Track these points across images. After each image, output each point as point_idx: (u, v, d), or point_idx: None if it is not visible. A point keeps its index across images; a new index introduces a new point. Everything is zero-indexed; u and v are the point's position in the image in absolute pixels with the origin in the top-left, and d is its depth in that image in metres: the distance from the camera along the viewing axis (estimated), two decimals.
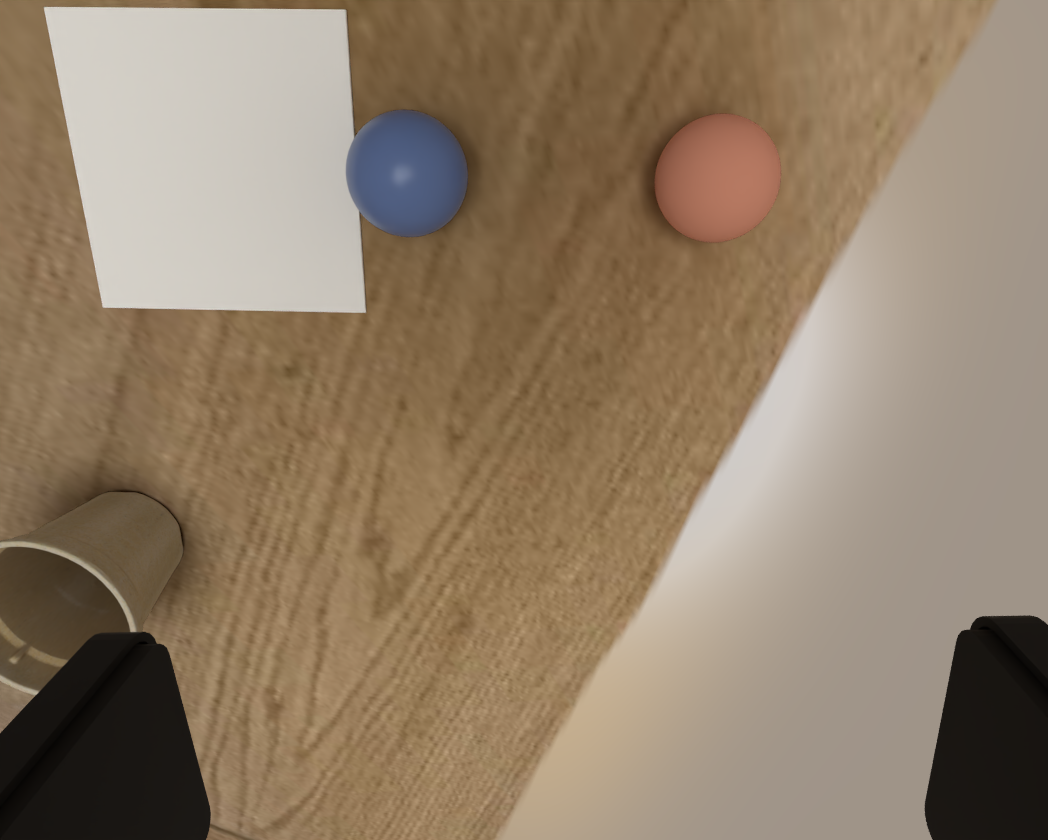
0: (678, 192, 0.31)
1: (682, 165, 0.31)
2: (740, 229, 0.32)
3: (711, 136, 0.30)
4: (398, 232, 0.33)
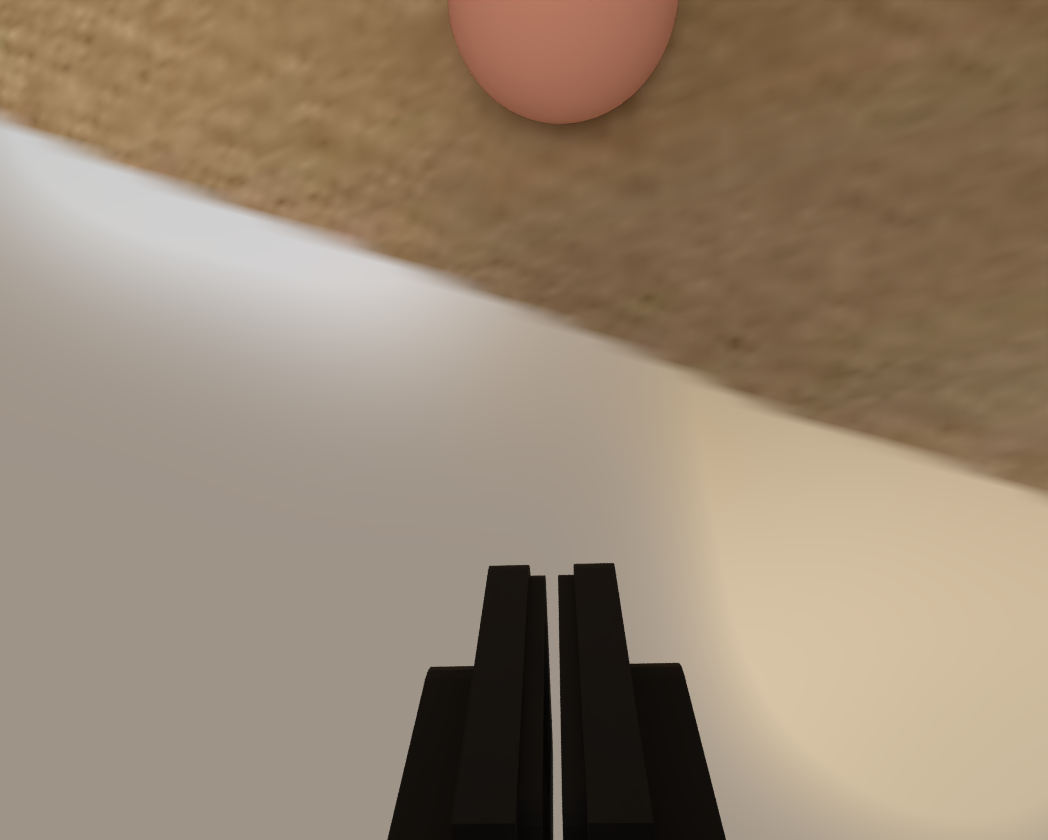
0: None
1: None
2: (474, 40, 0.17)
3: None
4: None
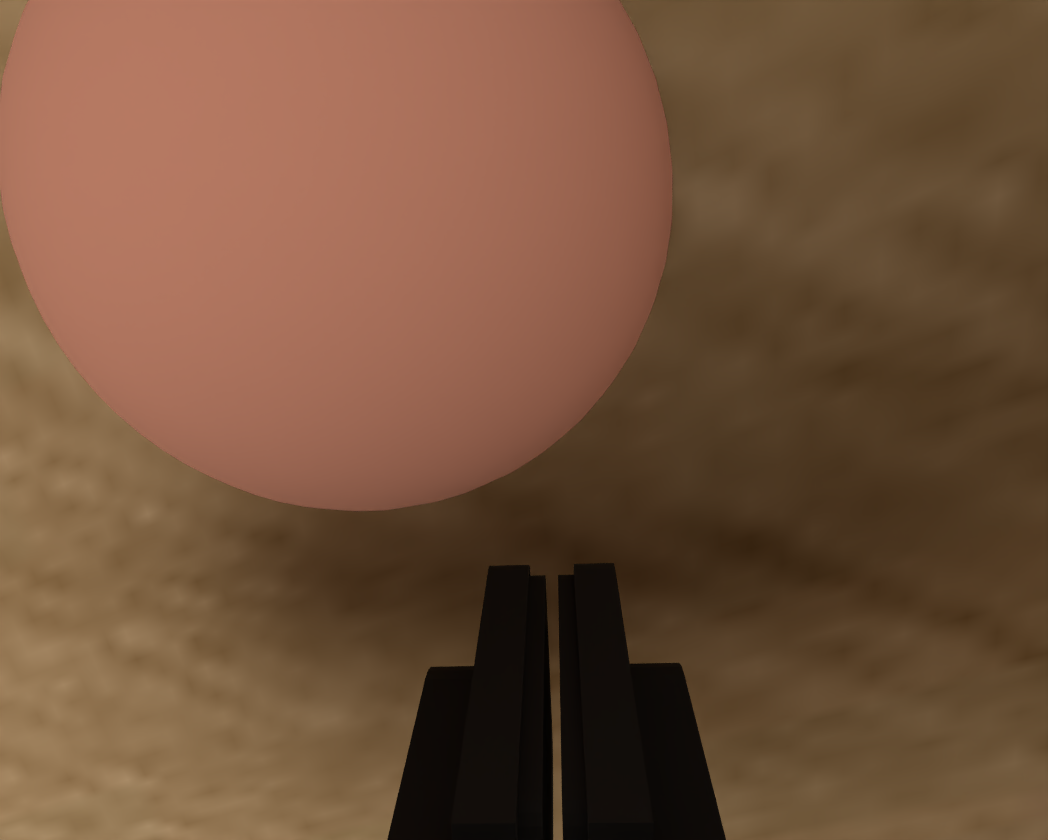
0: None
1: None
2: None
3: None
4: None
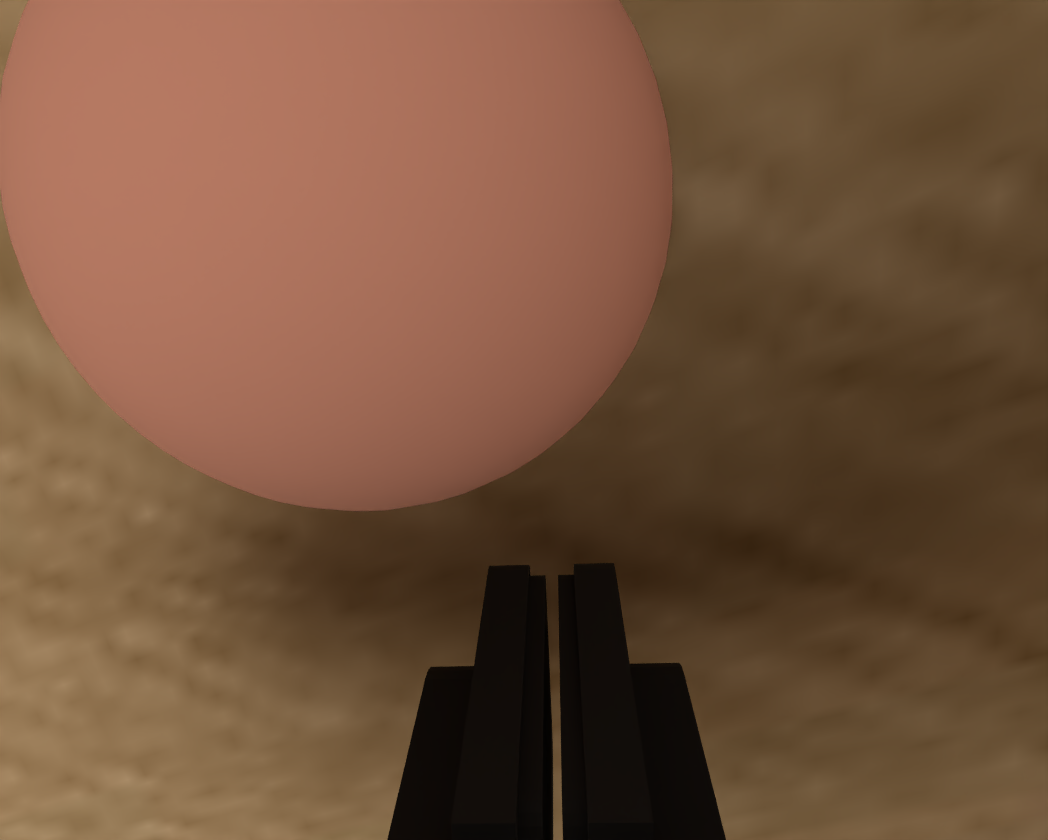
0: None
1: None
2: None
3: None
4: None
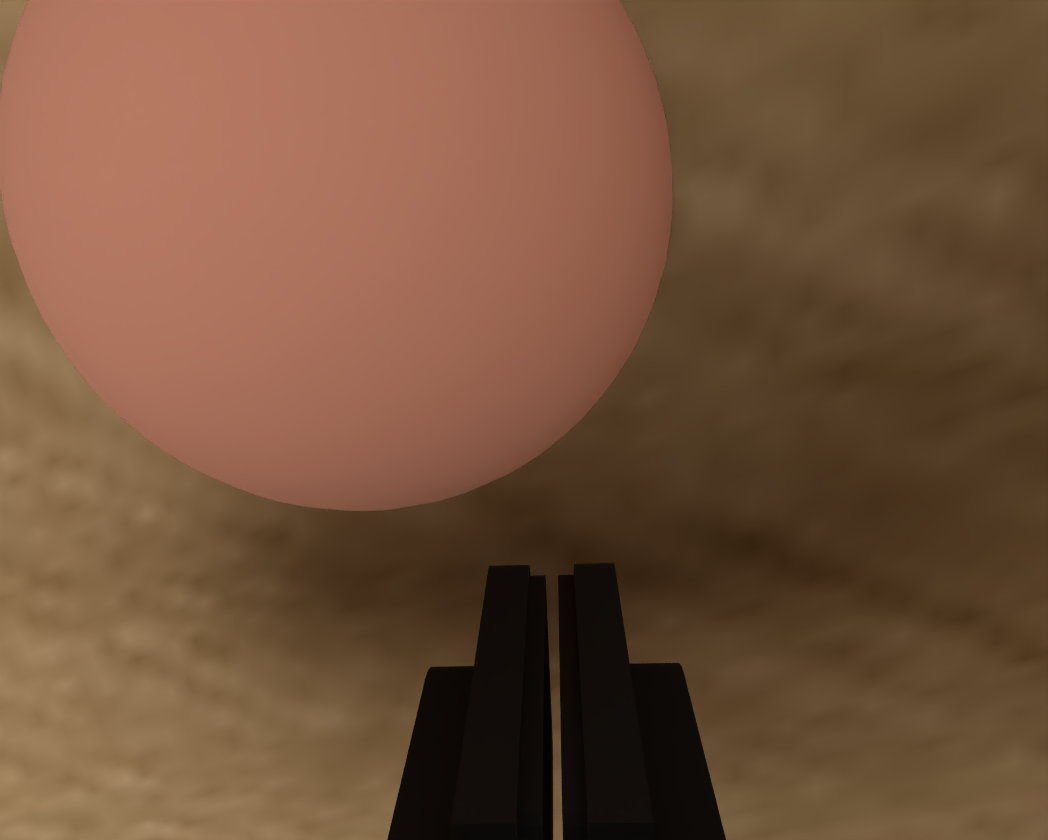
0: None
1: None
2: None
3: None
4: None
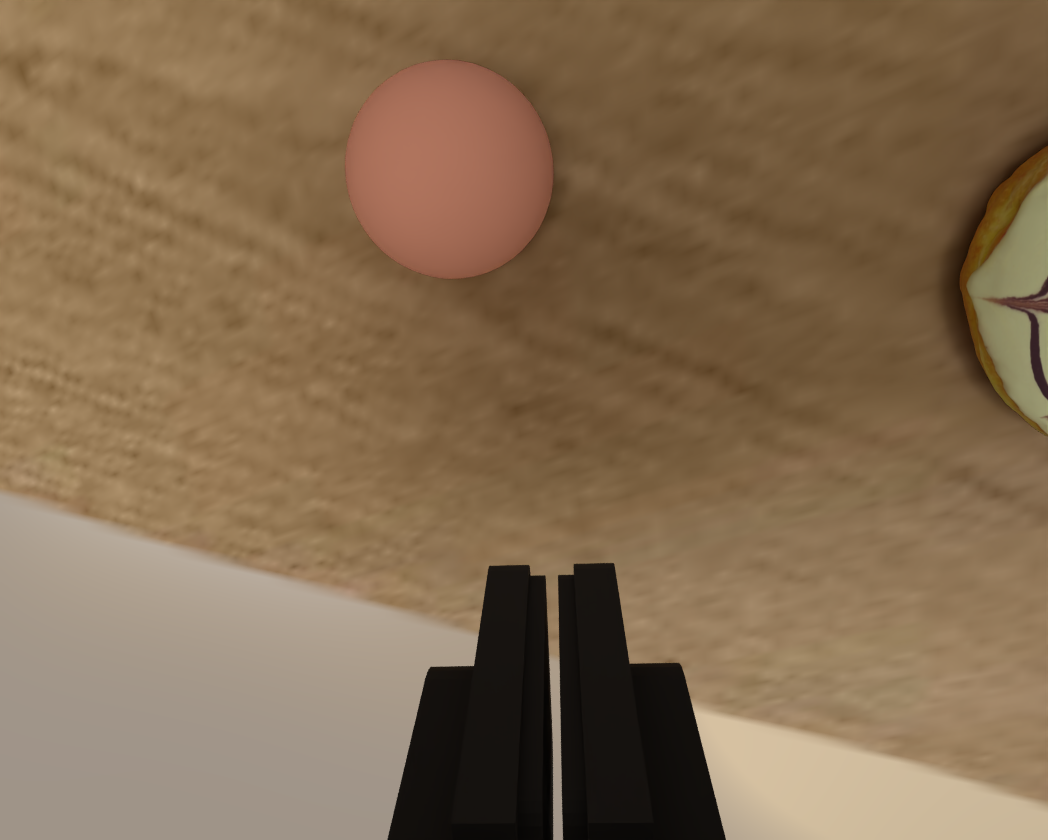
0: None
1: None
2: None
3: None
4: None
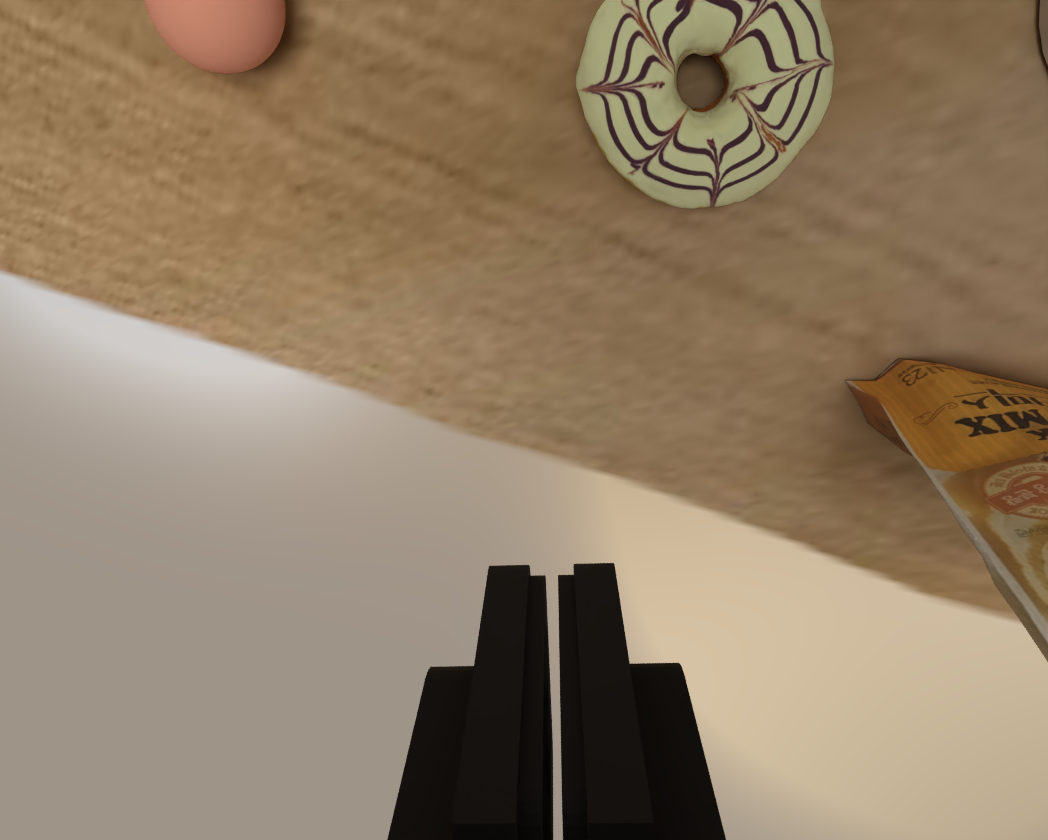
0: None
1: None
2: None
3: None
4: None
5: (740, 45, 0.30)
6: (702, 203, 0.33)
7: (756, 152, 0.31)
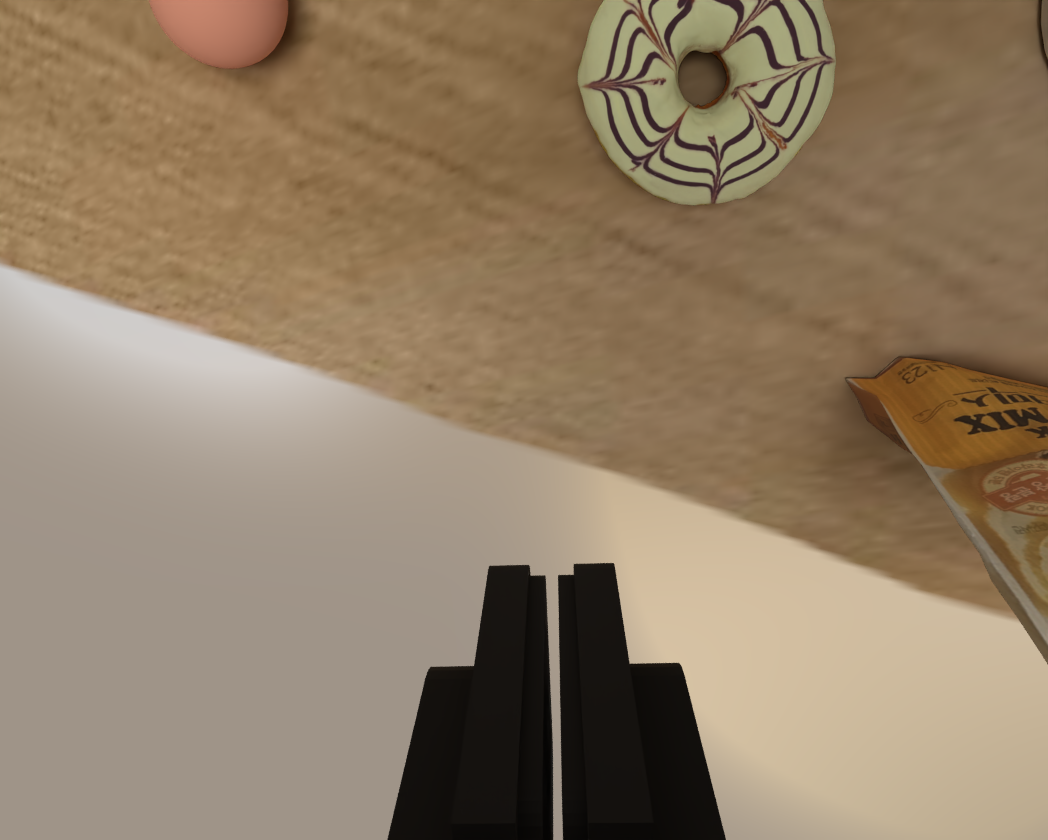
0: None
1: None
2: None
3: None
4: None
5: (741, 42, 0.30)
6: (703, 200, 0.33)
7: (757, 149, 0.31)
